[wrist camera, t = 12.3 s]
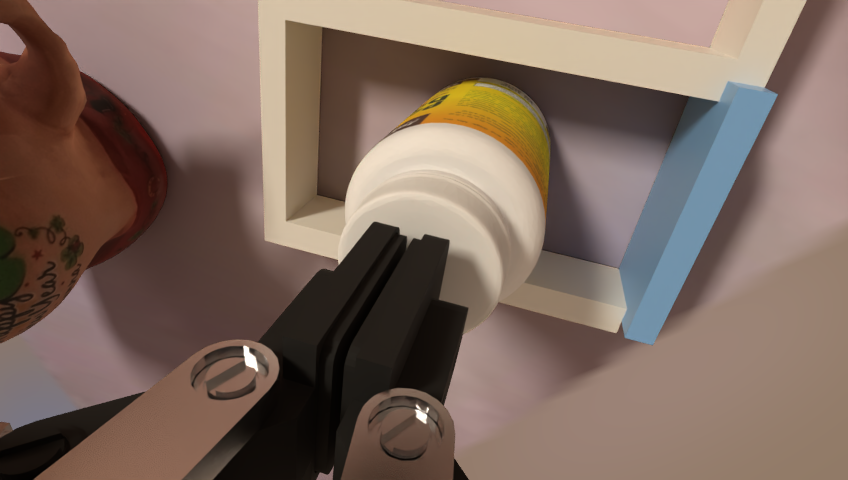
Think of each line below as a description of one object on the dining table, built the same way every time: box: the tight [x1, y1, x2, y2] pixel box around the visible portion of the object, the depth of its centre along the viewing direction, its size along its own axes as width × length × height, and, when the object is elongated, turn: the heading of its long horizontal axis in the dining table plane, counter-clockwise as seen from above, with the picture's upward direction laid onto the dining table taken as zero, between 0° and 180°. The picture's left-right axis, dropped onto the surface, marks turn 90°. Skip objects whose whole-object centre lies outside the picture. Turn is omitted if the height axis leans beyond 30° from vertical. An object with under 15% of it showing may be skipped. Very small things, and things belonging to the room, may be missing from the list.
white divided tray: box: [258, 0, 807, 345], centre depth 16 cm, size 16×19×4 cm
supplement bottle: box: [338, 78, 551, 334], centre depth 15 cm, size 6×6×10 cm
